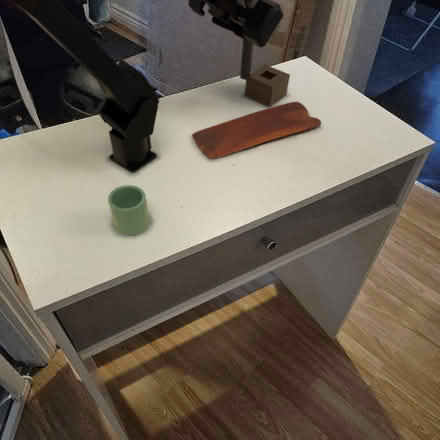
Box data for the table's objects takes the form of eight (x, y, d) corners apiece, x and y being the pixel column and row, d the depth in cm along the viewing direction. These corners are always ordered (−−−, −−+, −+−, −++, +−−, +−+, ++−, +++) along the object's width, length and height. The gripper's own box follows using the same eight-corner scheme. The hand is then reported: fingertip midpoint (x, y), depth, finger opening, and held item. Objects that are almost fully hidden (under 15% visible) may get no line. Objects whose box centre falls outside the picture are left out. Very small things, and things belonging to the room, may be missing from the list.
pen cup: (131, 241, 62) (126, 215, 57) (107, 224, 64) (100, 198, 59) (156, 221, 65) (153, 196, 60) (132, 206, 66) (127, 180, 62)
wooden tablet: (296, 104, 86) (298, 96, 85) (323, 128, 81) (325, 120, 80) (186, 133, 79) (186, 126, 77) (209, 162, 74) (209, 154, 72)
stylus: (246, 81, 79) (253, -2, 68) (237, 77, 80) (244, -5, 68) (252, 77, 80) (260, -5, 69) (243, 73, 81) (251, -8, 69)
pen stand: (269, 107, 85) (272, 86, 81) (244, 96, 87) (246, 75, 84) (286, 94, 88) (290, 74, 85) (261, 84, 91) (264, 63, 87)
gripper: (286, -61, 55) (317, 12, 69) (200, -92, 63) (244, -21, 76) (240, 17, 58) (279, 72, 72) (164, -21, 66) (212, 35, 79)
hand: (253, 37), depth 75 cm, fingers closed on stylus, 2 cm apart
